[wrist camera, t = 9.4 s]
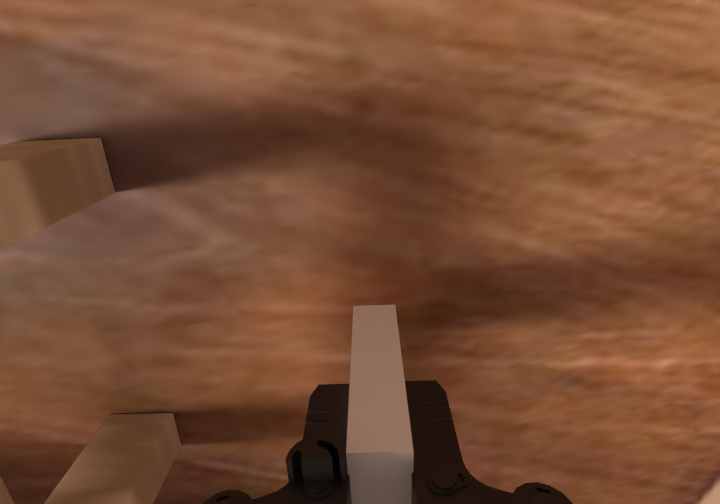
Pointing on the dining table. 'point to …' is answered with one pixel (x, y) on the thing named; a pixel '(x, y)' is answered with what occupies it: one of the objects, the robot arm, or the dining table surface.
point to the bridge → (119, 431)
